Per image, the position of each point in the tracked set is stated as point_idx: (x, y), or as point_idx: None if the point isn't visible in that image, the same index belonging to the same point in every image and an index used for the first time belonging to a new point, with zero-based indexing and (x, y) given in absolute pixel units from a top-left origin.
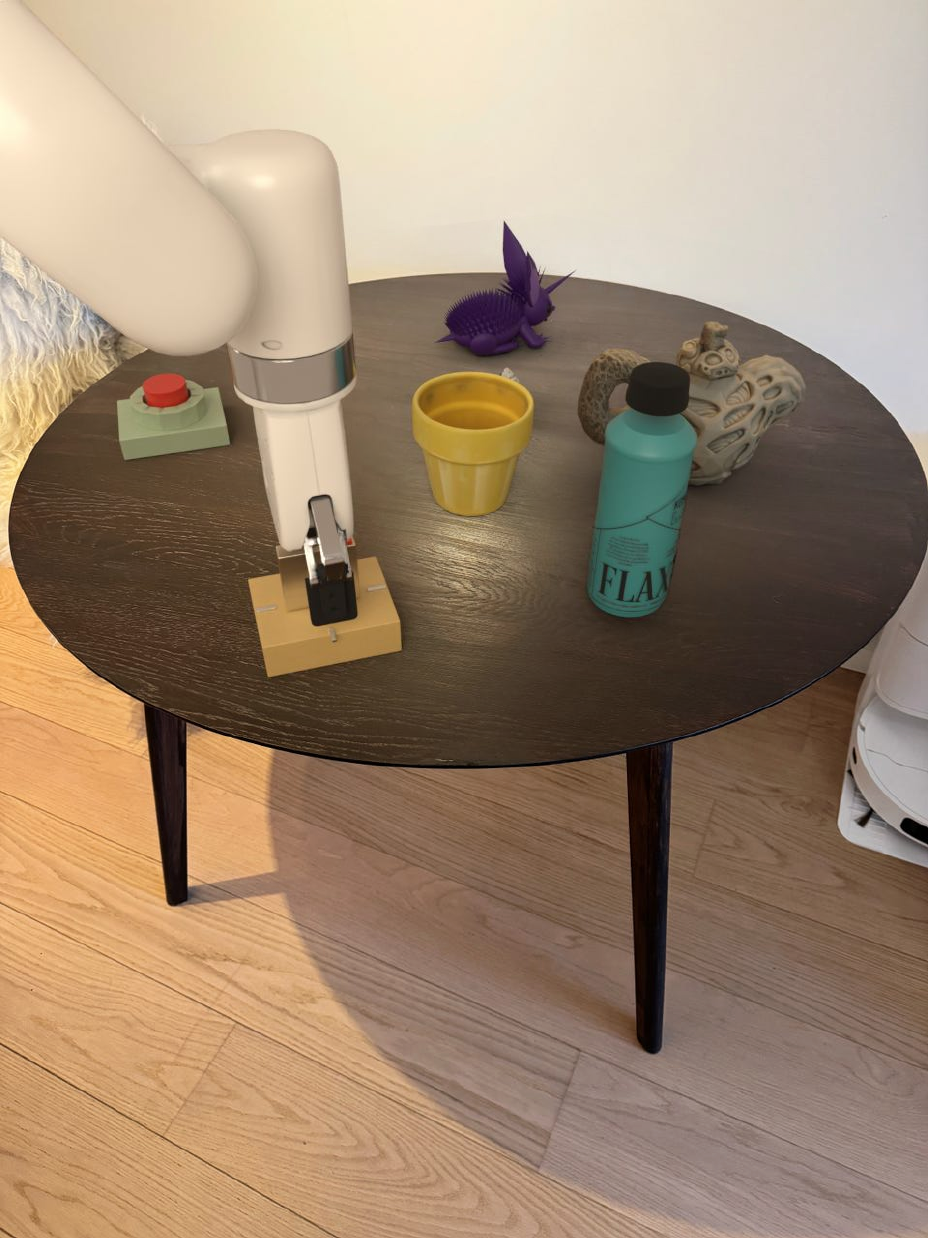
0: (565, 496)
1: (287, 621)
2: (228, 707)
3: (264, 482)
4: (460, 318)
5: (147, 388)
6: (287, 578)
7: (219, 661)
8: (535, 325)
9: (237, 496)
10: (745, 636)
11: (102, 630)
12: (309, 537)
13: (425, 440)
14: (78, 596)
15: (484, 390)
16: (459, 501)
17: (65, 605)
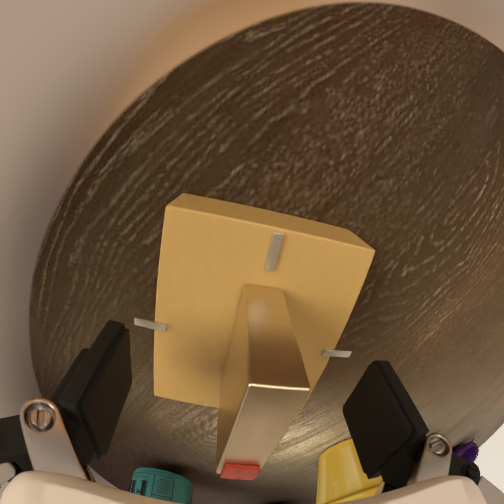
0: (299, 481)
1: (219, 273)
2: (152, 120)
3: (445, 499)
4: (468, 458)
5: None
6: (242, 344)
7: (259, 135)
8: None
9: (501, 283)
10: (123, 475)
11: (402, 36)
12: (359, 390)
13: None
14: (462, 54)
15: None
16: (335, 458)
17: (453, 36)
